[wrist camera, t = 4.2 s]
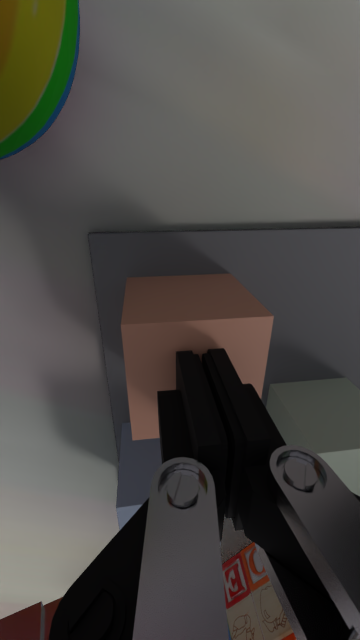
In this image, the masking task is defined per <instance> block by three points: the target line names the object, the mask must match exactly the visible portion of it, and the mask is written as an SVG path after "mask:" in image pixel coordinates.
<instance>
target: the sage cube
mask: <svg viewBox="0 0 360 640" xmlns="http://www.w3.org/2000/svg"><path fill="white" fill-rule="evenodd" d="M266 409H267V411H268V413H269V415H270V416H271V418H272V420H273V422H274V423H275V425H276V427H277V429H278V431H279V432H280V434H281V436H282V438H283V439H284V441H285V443H286V445H296V446H301V447H304V448H307V449H309V450H311V451H313V452H314V453H316V454H317V455H319V456H320V457H321V458H322V459H323V460H324V461H325V462H326V463H327V464H328V465H329V466H330V467H331V469H332V470H333V471H334V472H335V473H336V474H337V476H338V477H339V478H340V479H341V480H342V482H343V483H344V484H345V485H346V486H347V487H348V489H349V490H350V491H351V492H353V493H354V494H356V495H358V496H360V390H359V389H358V388H357V387H356V386H355V385H354V384H353V383H352V382H351V381H350V380H349V379H347V378H334V379H323V380H311V381H299V382H288V383H276V384H270V387H269V393H268V399H267V405H266Z"/></svg>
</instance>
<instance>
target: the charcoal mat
mask: <svg viewBox="0 0 360 640" xmlns="http://www.w3.org/2000/svg"><path fill="white" fill-rule="evenodd" d="M88 239H89V246H90V254H91V261H92V268H93V276H94V283H95V290H96V298H97V305H98V313H99V320H100V327H101V335H102V342H103V349H104V357H105V364H106V372H107V379H108V386H109V394H110V401H111V408H112V416H113V423H114V430H115V438H116V445H117V453H118V460H119V461H120V446H121V432H122V423H130V422H131V421H130V411H129V401H128V391H127V382H126V372H125V362H124V352H123V342H122V332H121V319H122V311H123V304H124V296H125V288H126V280H127V278H128V277H154V276H180V275H206V274H232V275H233V276H234V277H235V278H236V279H237V280H238V281H239V282H240V283H241V284H242V285H243V286H244V287H245V288H246V289H247V290H248V291H249V292H250V293H251V294H252V295H253V296H254V297H255V298H256V299H257V300H258V301H259V302H260V303H261V304H262V305H263V306H264V307H265V308H266V309H267V310H268V311H269V312H270V313H271V314H272V315H273V316H274V319H273V325H272V332H271V338H270V344H269V351H268V357H267V364H266V370H265V377H264V383H263V390H262V396H261V400H262V402H263V404H264V406H265V407H266V405H267V399H268V393H269V387H270V384H276V383H288V382H299V381H311V380H323V379H334V378H347V379H349V380H350V381H351V382H352V383H353V384H354V385H355V386H356V387H357V388H358V389H359V390H360V227H344V228H295V229H246V230H197V231H148V232H99V233H89V234H88Z"/></svg>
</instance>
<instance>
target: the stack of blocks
mask: <svg viewBox="0 0 360 640" xmlns="http://www.w3.org/2000/svg"><path fill="white" fill-rule="evenodd" d="M222 570H223V581H224V591H225V602H226V613H227V624H228V634H229V640H297V639H296V637H295V635H294V633H293V630H292V628H291V626H290V624H289V622H288V619H287V617H286V615H285V613H284V611H283V608H282V606H281V604H280V602H279V600H278V597H277V595H276V593H275V591H274V589H273V586H272V584H271V582H270V580H269V578H268V575H267V573H266V571H265V569H264V567H263V564H262V562H261V560H260V558H259V556H258V553H257V550H256V546H255V543H254V542H253V543H251V544H250V545H248V546H247V547H246V548H244V549H243V550H241V552H239V553H238V554H236V555H235V556H233V557H232V558H230V559H229V560H228V561H226V562H225V563H223V564H222Z"/></svg>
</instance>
